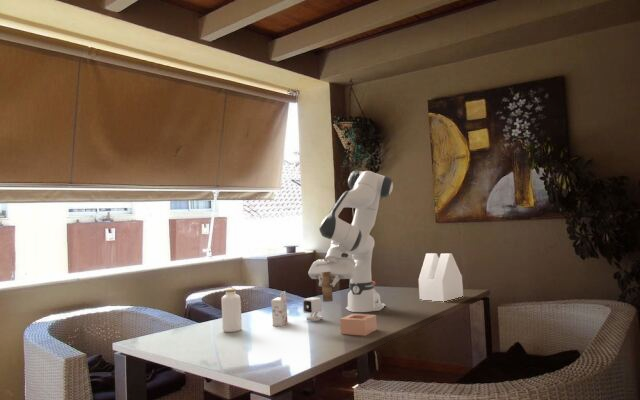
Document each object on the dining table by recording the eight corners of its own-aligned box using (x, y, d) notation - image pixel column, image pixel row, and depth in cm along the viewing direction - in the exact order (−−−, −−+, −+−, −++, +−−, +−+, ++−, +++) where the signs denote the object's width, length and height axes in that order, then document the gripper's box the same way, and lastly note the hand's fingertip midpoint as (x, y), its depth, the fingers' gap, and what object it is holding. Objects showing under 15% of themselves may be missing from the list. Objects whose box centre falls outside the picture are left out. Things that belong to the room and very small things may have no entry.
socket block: (353, 327, 209) (352, 313, 209) (376, 329, 203) (376, 315, 203) (340, 333, 199) (340, 318, 199) (365, 335, 194) (364, 320, 194)
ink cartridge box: (277, 322, 230) (276, 290, 231) (287, 322, 229) (286, 290, 230) (272, 326, 221) (270, 293, 222) (282, 326, 220) (281, 293, 221)
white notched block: (443, 302, 258) (440, 255, 260) (419, 300, 270) (416, 254, 271) (463, 297, 271) (460, 252, 273) (439, 295, 283) (436, 252, 284)
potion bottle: (234, 327, 222) (233, 287, 223) (245, 329, 216) (243, 289, 217) (219, 331, 216) (217, 290, 217) (229, 333, 211) (227, 291, 211)
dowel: (326, 300, 206) (324, 271, 206) (334, 300, 204) (332, 271, 204) (321, 301, 202) (319, 272, 203) (329, 301, 200) (327, 272, 201)
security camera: (303, 320, 231) (302, 299, 231) (313, 317, 236) (312, 296, 236) (313, 321, 226) (312, 300, 227) (323, 319, 232) (322, 297, 232)
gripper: (311, 255, 215) (301, 281, 206) (354, 254, 205) (345, 280, 196) (317, 264, 219) (307, 290, 209) (359, 264, 209) (351, 290, 200)
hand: (326, 285), depth 203 cm, fingers closed on dowel, 4 cm apart
